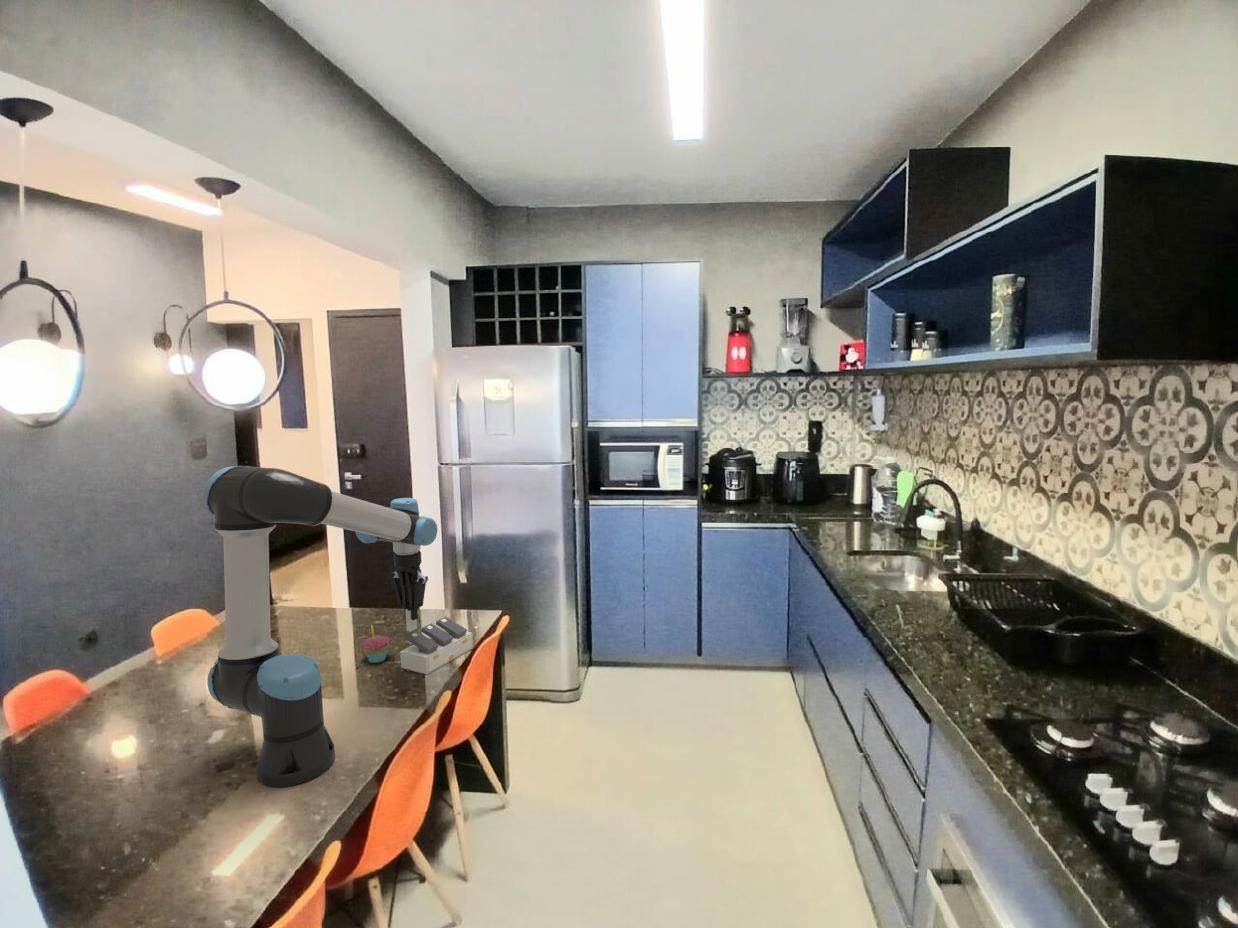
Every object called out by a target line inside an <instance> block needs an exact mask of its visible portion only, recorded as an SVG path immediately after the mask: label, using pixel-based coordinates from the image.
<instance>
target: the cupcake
mask: <svg viewBox="0 0 1238 928" xmlns="http://www.w3.org/2000/svg"><path fill="white" fill-rule="evenodd" d="M370 625H371V626H370V629H371V630H370V632H371V636H370V637H367V638H366V639H365V640H363V641H362V643H361V645H360V647H361V651H362V653H363V654H365V656H366V657H367V660H368V662H369V663H373V664H374V663H375V664H376V663H381V662H383V661H385V660H386V658H387V654H388V651H389V649H390V648H391V647H392V642H391V639H390V638H389V637H388V636H385V635H381V634H375V630H374V625H373V624H372V623H370Z"/></svg>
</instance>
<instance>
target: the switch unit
mask: <svg viewBox="0 0 1238 928" xmlns="http://www.w3.org/2000/svg"><path fill="white" fill-rule="evenodd" d="M442 630H443V631H444V632H446V633H448V634H449V635H451V636H453V640H452V641H450V642H448V643H446V644H445V645H442V644H440V643H439V642H437V641H436V640H434V639H432V638H431V637H429V636H427V638H429V639H431V640H432V641H434V642H435V643H437V644H439V645H438V648H437V649H435V650H433V651H431V652H430V653H427V652H425V651H424V650H422V649H420V648H419V647H417V646H416V645H414V644H412V645H410V646H408V647H407V648H404V649H403V650H400V651H399V653H400V654H399V655H400V656H399V657H400V668H401V669H405V670H408V671H413V672H416V673H420V674H424V675H428V674H430V673H432V672H434V671H436V670H438V669H439V668H441V667H443V666H445V665H446V664H447V663H449V662H451V661H453V660H455V659H457V658H458V657H460V656H462V655H464V654H465V653H467V652H469V651H471V650H472V649H474V638H473V637H474V636H473V635H474V634H473V632H470V631H467V632H466V633H465V634H463V635H462V636H460V637H458V638H457V637H456V636H454V635H452V634H451V633H449V632H447V631H446V630H444V629H442Z"/></svg>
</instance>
